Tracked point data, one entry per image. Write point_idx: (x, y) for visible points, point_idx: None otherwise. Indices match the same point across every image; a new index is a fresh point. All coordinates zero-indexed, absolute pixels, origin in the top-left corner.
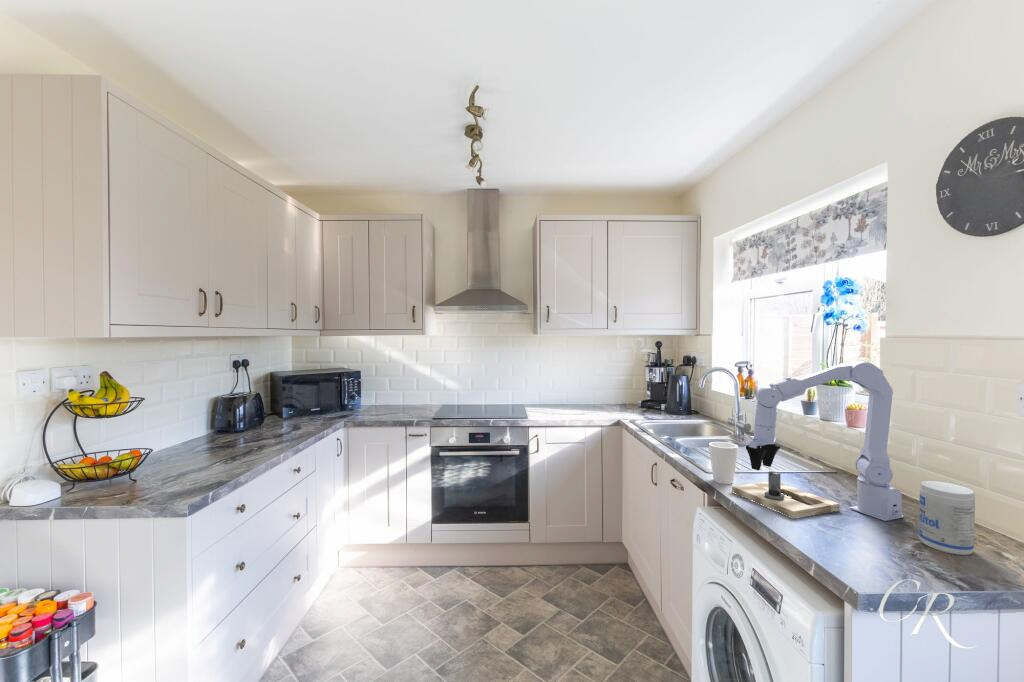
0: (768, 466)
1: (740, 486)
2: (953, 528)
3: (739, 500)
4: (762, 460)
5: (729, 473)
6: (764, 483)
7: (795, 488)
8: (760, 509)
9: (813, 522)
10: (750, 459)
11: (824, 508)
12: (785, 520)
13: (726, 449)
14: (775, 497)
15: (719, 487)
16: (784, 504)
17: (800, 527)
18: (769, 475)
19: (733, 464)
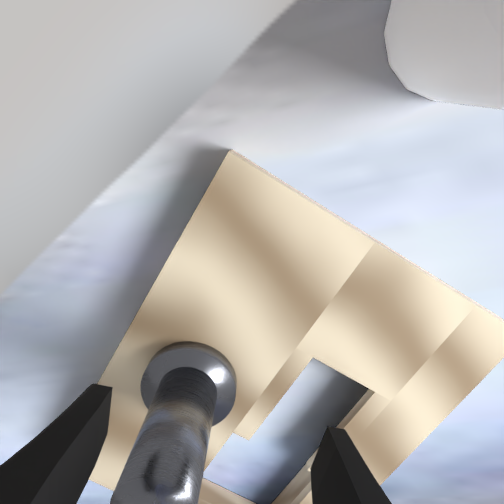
0: (313, 462)
1: (263, 198)
2: None
3: (128, 217)
4: (343, 458)
5: (428, 78)
6: (422, 303)
7: (417, 438)
8: (77, 323)
9: (91, 487)
10: (19, 452)
11: None
12: (29, 416)
13: None
14: (144, 400)
15: (288, 48)
16: (116, 427)
17: (3, 460)
18: (124, 470)
19: (497, 100)
